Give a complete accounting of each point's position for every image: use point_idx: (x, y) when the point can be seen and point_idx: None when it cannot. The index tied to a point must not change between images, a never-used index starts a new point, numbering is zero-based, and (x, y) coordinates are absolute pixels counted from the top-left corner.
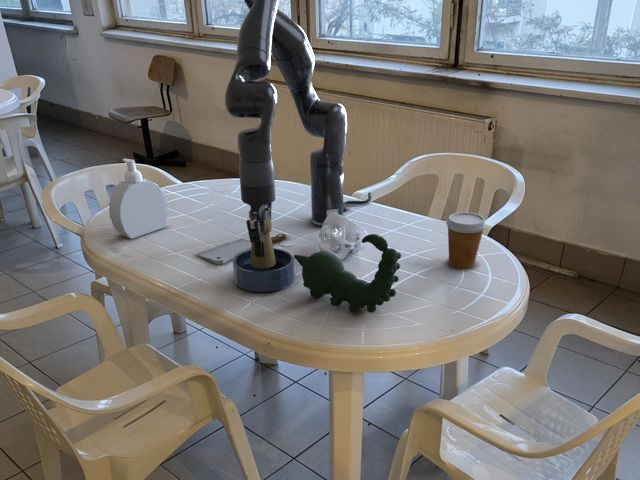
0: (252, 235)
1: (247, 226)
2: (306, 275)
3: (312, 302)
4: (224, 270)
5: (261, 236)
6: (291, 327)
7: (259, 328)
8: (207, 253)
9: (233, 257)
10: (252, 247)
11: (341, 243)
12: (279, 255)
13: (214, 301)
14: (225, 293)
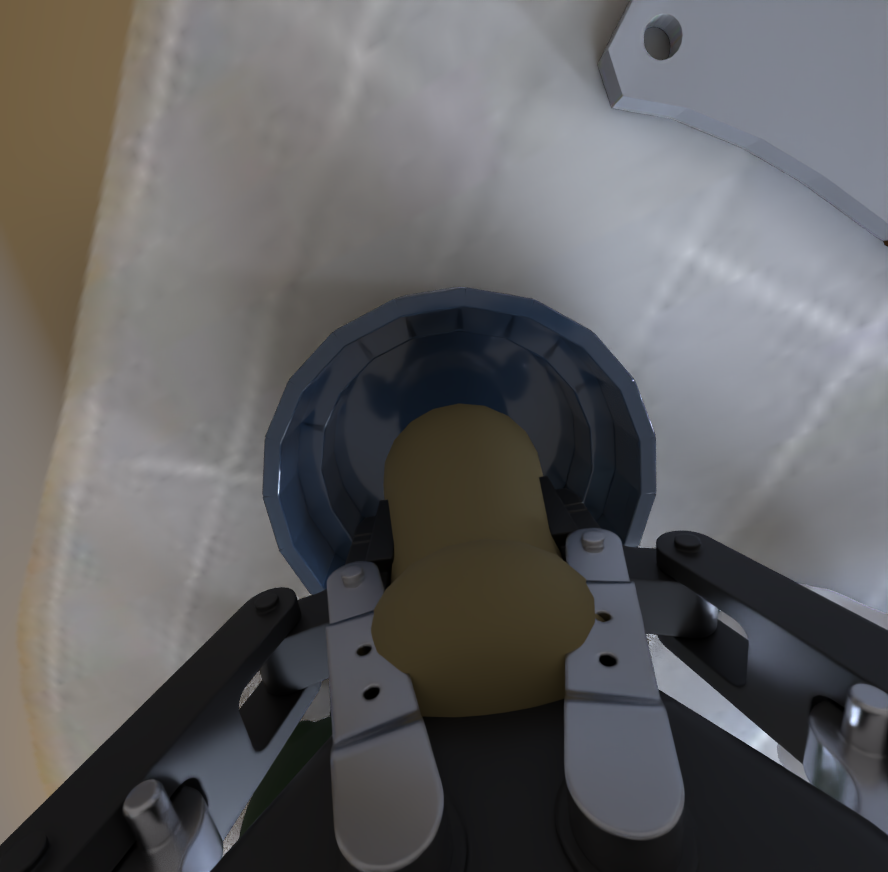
0: (260, 654)
1: (45, 805)
2: (247, 816)
3: (325, 683)
4: (524, 162)
5: (304, 713)
6: (112, 679)
7: (40, 585)
8: None
9: (714, 134)
10: (406, 494)
11: (782, 763)
12: (614, 512)
13: (148, 294)
14: (253, 310)
